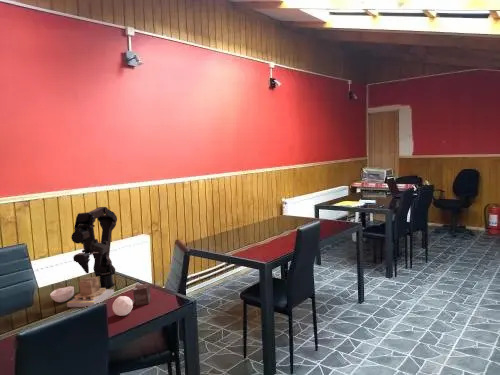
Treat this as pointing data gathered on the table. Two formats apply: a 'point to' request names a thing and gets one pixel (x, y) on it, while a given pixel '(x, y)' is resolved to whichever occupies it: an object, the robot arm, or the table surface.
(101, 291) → the pallet
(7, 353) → the table surface
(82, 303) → the dock
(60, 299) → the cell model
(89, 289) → the crate
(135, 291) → the box
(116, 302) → the pale pink ovoid
